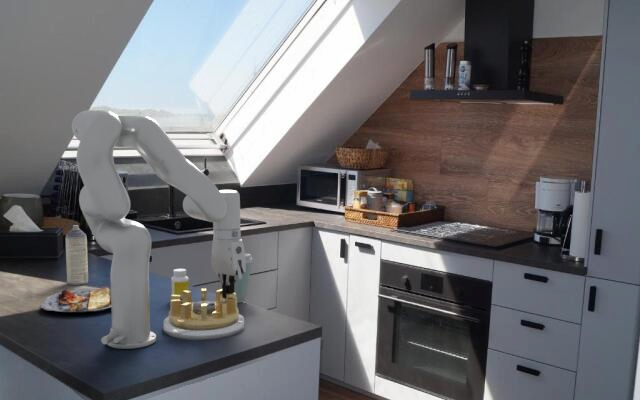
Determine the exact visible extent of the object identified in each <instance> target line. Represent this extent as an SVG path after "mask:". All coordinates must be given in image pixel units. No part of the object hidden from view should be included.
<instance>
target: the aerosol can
mask: <svg viewBox="0 0 640 400" xmlns="http://www.w3.org/2000/svg"><path fill="white" fill-rule="evenodd" d="M65 261H66V265H65V266H66V284H67V285H68V286H74V287H75V286H85V285H88V283H89V270H88V269H89V267H88V265H89V263H88V239H87V233H85V232H84V231H83V230H81V228H79V225H78V224H76V225H72V229H70V230H69V231H68V233H66V234H65Z"/></svg>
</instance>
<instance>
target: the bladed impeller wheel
mask: <svg viewBox="0 0 640 400" xmlns="http://www.w3.org/2000/svg"><path fill="white" fill-rule="evenodd" d="M200 291H201V292H200V293H201V296H200V297H201V300H199V301H195V302H193V301H192V299H193V298H192V297H193V296H192V291H190V290H189V291H188V290H185V291H182V294H183V302H181V295H170V301H169V302H170V303H169V304H170V306H169V307H170V310H169V311H168V316H169V323H170V324H171V325H173V326H175V327H178V328H182V329H189V330H210V329H218V328H223V327H227V326H230V325H233V324H235V323H236V322H237V321H238V320H239V314H240V311H239V307H238V303H237V298H236V293H226V301H225V298H222V288H221V289H218V290H215V301H210V300H207V288H206V287H205V288H201V289H200Z"/></svg>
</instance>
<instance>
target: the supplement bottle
mask: <svg viewBox="0 0 640 400" xmlns="http://www.w3.org/2000/svg"><path fill="white" fill-rule="evenodd" d="M172 272H173V276H172V277H171V279H170V281H171V282H170V284H171V287H170V288H171V293H170V294H171V295H181V303H183V294H182V291H185V290H188V291H190V290H189V289H190V288H189V287H190V283H189V282H190V281H189V279H190V278H189V277H188V276H187V269H185V268H176V269H173V271H172ZM171 295H170V296H171Z"/></svg>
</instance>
